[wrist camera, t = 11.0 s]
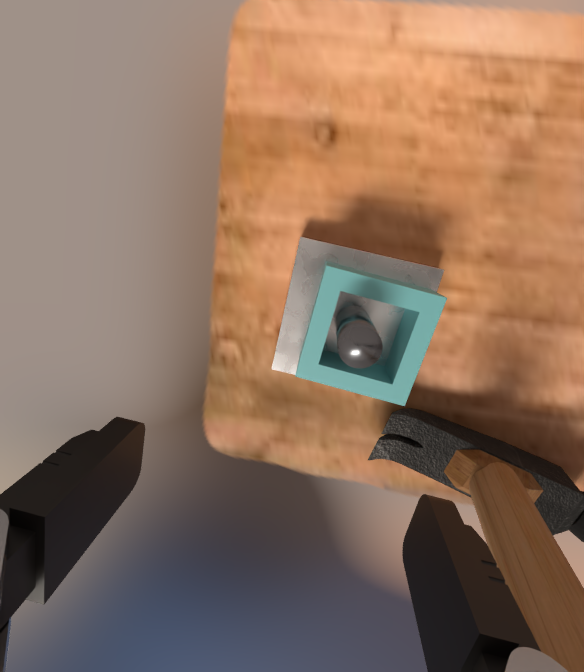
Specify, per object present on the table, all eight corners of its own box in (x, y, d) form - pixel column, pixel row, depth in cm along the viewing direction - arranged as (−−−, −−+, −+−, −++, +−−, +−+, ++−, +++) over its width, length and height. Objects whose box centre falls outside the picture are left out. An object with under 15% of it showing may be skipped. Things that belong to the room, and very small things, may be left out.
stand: (438, 268, 30) (480, 281, 22) (396, 392, 34) (418, 443, 26) (301, 236, 31) (292, 238, 22) (273, 363, 34) (257, 404, 26)
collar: (431, 289, 29) (447, 298, 26) (395, 385, 32) (404, 406, 28) (326, 261, 30) (326, 265, 26) (298, 359, 32) (295, 376, 28)
